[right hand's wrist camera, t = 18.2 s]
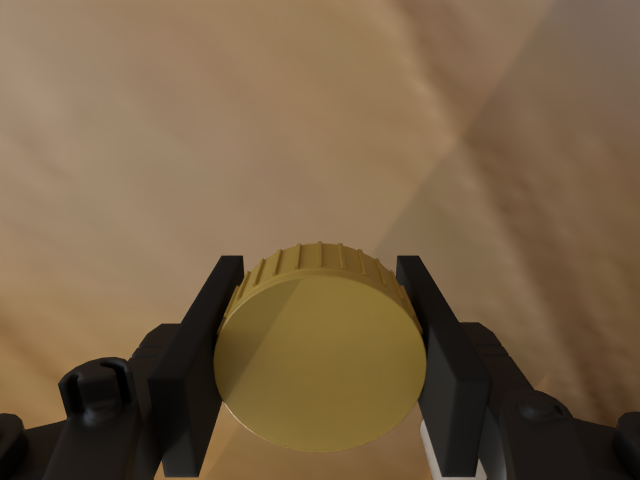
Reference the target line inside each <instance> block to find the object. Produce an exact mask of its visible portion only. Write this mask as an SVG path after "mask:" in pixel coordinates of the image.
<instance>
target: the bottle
mask: <svg viewBox="0 0 640 480" xmlns="http://www.w3.org/2000/svg"><path fill="white" fill-rule="evenodd" d="M420 435H421V439H422V442H423V446H424V450H425V453H426V457H427V461H428V464H429V468H430V471H431V475H432V479H433V480H486V478H487V476H486V473H485V471H484V469H483V466H482V464H481V462H480V460H478V466H477V471H476V476H475V477H442V476H441V473H440V470H439V466H438V463H437V460H436V457H435V454H434V451H433V447H432V444H431V441H430V438H429V435H428V432H427V428H426V425H425V422H424V419H423V421H422V423H421V427H420Z"/></svg>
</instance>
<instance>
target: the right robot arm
mask: <svg viewBox="0 0 640 480" xmlns="http://www.w3.org/2000/svg"><path fill="white" fill-rule="evenodd" d="M243 280H244V265H243V256H221V258H220V259H219V261H218V263H217V264H216V266H215V268H214V269H213V271H212V272H211V274H210V276H209V277H208V279H207V281H206V282H205V284H204V286H203V287H202V289H201V291H200V292H199V294H198V296H197V297H196V299H195V301H194V302H193V304H192V306H191V307H190V309H189V310H188V312H187V314H186V315H185V317H184V319H183V320H182V322H181V324H161V325H159V326H158V327H156V328H155V329H154V330H152V331H151V332H149V333H148V334H147V335H146V337H145V338H144V339H143V341H142V342H141V344H140V345H139V348H137V349H136V350H135V352H134V353H133V355H132V358H130V359H129V360H128V361H126V360H125V359H122V358H117V357H106V358H100V359H96V360H92V361H88V362H86V363H84V364H82V365H80V366H77V367H75V368H74V369H73V370H71V371H70V372H68V373H67V374H66V375H65V376H64V377H63V378H62V379H61V381H60V382H59V383H58V386H59V390H60V393H61V397H62V400H63V404H64V407H65V411H66V415H67V419H66V420H64V421H60V422H57V423H52V424H48V425H44V426H40V427H35V428H31V429H27V430H25V428H24V425H23V422H22V420H21V419H20V418H19V417H18V416H16V415H14V414H7V413H3V414H0V480H154V476H155V474H156V471H157V469H158V467H159V464H160V462H161V460H162V464H163V470H164V475H165V477H199V473H200V470H201V467H202V464H203V461H204V458H205V455H206V451H207V448H208V445H209V442H210V439H211V436H212V432H213V429H214V426H215V423H216V420H217V417H218V413H219V410H220V407H221V404H222V401H223V400H222V398H221V396H220V394H219V391H218V388H217V385H216V382H215V373H214V364H213V356H214V349H215V345H216V341H217V338H218V335H217V331H218V329H219V326H220V324H221V322H222V319H223V317H224V314H225V312H226V309H227V307H228V305H229V302H230V300H231V298H232V295H233V293H234V291H235V289H236V287H237V286H239V287H240V285H241V284H242V282H243ZM396 280H397V282H398V283H399V285H400V286H402V285H403V286H404V288H405V290H406V293H407V295H408V297H409V300H410V302H411V304H412V307H413V309H414V311H415V314H416V316H417V319H418V321H419V323H420V326H421V328H422V330H423V334H421V335H422V338H423V341H424V344H425V348H426V355H427V367H426V376H425V382H424V386H423V389H422V391H421V394H420V396H419V398H418V403H419V406H420V410H421V413H422V416H423V419H424V422H425V425H426V428H427V432H428V435H429V438H430V441H431V444H432V447H433V451H434V454H435V457H436V460H437V463H438V466H439V470H440V473H441V476H442V477H475V476H476V471H477V466H478V460H480V462H481V464H482V466H483V469H484V471H485V473H486V476H487V478H486V480H640V412H630V413H625V414H624V415H622V416H621V417H620V418H619V420H618V423H617V426H616V428H612V427H608V426H604V425H599V424H595V423H591V422H586V421H582V420H579V419H576V418H573V416H572V415H571V413H570V412H569V410H568V409H567V407H565V406H564V405H563V404H562V403H561V402H559V401H558V400H557V399H555V398H553V397H552V396H550V395H548V394H546V393H544V392H541V391H537V390H534V389H533V387H532V386H531V384H530V383H529V382H528V380H527V379H526V377H525V376H524V375H523V373H522V372H521V371H520V369H519V368H518V366H517V365H516V364H515V362H514V361H513V359H512V358H511V357H510V356H509V355H508V353H507V351H506V350H505V348H504V347H502V346H501V343H500V342H499V340H498V339H497V337H496V336H495V335H494V333H493V332H492V331H490V330H489V329H487V328H486V327H484V326H483V325H482V324H480V323H479V322H458V320H457V318H456V317H455V315H454V313H453V312H452V310H451V308H450V307H449V305H448V303H447V302H446V300H445V298H444V297H443V295H442V294H441V292H440V290H439V289H438V287H437V285H436V284H435V282H434V280H433V279H432V277H431V275H430V274H429V272H428V270H427V269H426V267H425V265H424V264H423V262H422V261H421V259H420V257H419V256H397V268H396Z"/></svg>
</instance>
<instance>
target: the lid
mask: <svg viewBox="0 0 640 480" xmlns="http://www.w3.org/2000/svg"><path fill="white" fill-rule="evenodd" d="M421 334H423V330H422V328H421V326H420V323H419V321H418V319H417V316H416V314H415V311H414V309H413V307H412V304H411V302H410V300H409V297H408V295H407V293H406V290H405V288H404V286H403V285H402V286H400V285H399V283H398V282H397V280H396V277H395V275H394V272H393V271H392V270H391V271H390V272H389V271H388V270H387V269H386V268H385V267H384V266H383V265H382V264H381V263H380V260H379V259H377V258H376V259H373V258H372V257H370V256H368V255H366V254H364V253H363V252H362V250H361V249H358V251H357V250H355V249H352V248H349V247H345V246H343V244H341V243H339V244H338V245H335V244H324V243H322V242H321V241H318V244H306V245H301V243H299V244H297V246H295V247H292V248H288V249H285V250H283V251H282V250H281V249H279V250H278V251H277V253H276V254H274V255H272V256H270V257H269V258H267V259H265V260H264V259H261V260H260V263H259V265H258V266H256V267H255V268H254V269H253V270H252V271H251V272H249V271H248V272H247V273H246V275H245V277H244V280H243V282H242V284H241V285H240V287H239V286H237V287H236V289H235V291H234V293H233V295H232V298H231V300H230V302H229V305H228V307H227V309H226V312H225V314H224V317H223V319H222V322H221V324H220V326H219V329H218V331H217V335H218V338H217V341H216V345H215V349H214V356H213V364H214V373H215V382H216V385H217V388H218V391H219V394H220V396H221V398H222V400H223V402H224V403H225V405H226V406H227V408H228V409H229V411H230V412H231V413H232V414H233V415H234V417H235V418H236V419H237V420H238V421H239V422H240V423H241V424H243V425H244V426H245V427H246V428H247V429H249V430H250V431H252V432H253V433H255V434H256V435H258V436H259V437H261V438H263V439H265V440H267V441H269V442H272V443H274V444H277V445H279V446H282V447H286V448H290V449H294V450H300V451H307V452H333V451H341V450H346V449H350V448H355V447H358V446H361V445H364V444H366V443H369V442H371V441H373V440H375V439H377V438H379V437H381V436H382V435H384V434H386V433H387V432H389V431H390V430H392V429H393V428H394V427H395V426H397V425H398V424H399V423H400V422H401V421H402V420H403V419H404V418H405V417H406V416H407V415H408V413H409V412H410V411H411V409H412V408H413V407H414V405H415V404H416V402H417V400H418V398H419V396H420V394H421V391H422V389H423V386H424V382H425V376H426V367H427V355H426V348H425V344H424V341H423V338H422V335H421Z"/></svg>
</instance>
